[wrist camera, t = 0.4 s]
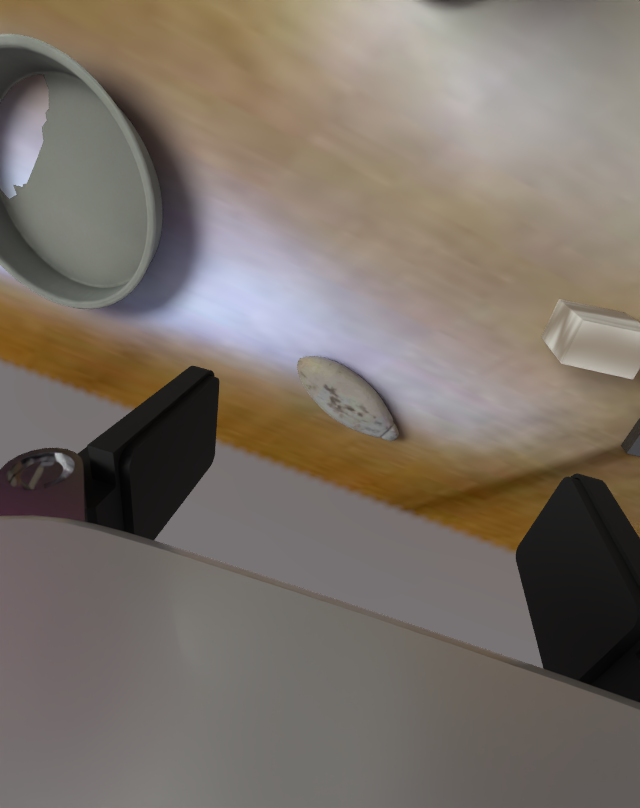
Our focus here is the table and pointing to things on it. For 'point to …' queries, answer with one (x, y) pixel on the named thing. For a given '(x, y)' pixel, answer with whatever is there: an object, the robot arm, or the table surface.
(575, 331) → the block
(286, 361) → the table surface
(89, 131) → the cake pan
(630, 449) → the vise
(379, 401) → the decorative stone
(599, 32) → the table surface
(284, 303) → the table surface
